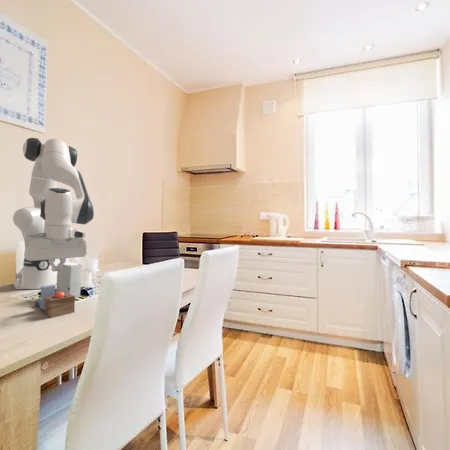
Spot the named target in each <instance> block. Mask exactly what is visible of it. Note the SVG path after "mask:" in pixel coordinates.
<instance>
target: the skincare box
mask: <svg viewBox="0 0 450 450" xmlns="http://www.w3.org/2000/svg"><path fill="white" fill-rule="evenodd" d="M59 263H60V262H59ZM59 263H57V265H59ZM82 267H83V266H82V264H81V263H77V262H70V261H67V262H65V263H64V265H63V266H62V271H56V280H57V284H56V288H55V293H56V292H64V294H66V293H68V294H70V295H73V296H75V299H78V298H81V287H82V286H81V283H82Z"/></svg>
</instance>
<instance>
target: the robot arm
mask: <svg viewBox="0 0 450 450" xmlns="http://www.w3.org/2000/svg"><path fill="white" fill-rule="evenodd" d="M22 153H23V156H24V158H25V159H26V160H28V161H30V162H34V165H33V167H32V172H31V177H30V183H29V191H28V193H29V195H30V197H31V199H32V201H33V206H26V207H22V208H19V209H17V210H16V211H15V212H14V214H13V215H12V216H13V217H12V221H13V224H14V226H15V227H17V228H18V229H19V231H20V232H21V235H22V237H23V242H24V253H23V254H24V255H23V257H24V258H23V264H22V267H21V269H20V270H19V272H18V273H16V274H15V279H16V280H15V281H13V282H12V285H13V287H14V288H15V290H41V286H45V285H52V284H53V285H55V286H56V285H57V272H58V271H62V266H63V265H64V263H66V261H67V259H73V258H81V257H86V256H87V254H88V243H87V240H86V239H85V237H86V232H84V231H81V230H78V229H74V228H73V224H77V225H87V224H88V223H90V222H91V221H92V220H93V219H94V215H95V209H94V206H93V203H92V201H91V199H90V196H89V193H88V191H87V187H86V184H85V182H84V178H83V175H82V173H81V172H80V171H79V170H77V169H76V168H75V166H76V165H77V163H78V159H79V156H78V151H77V149H76V148H74V147H73V146H70V145H67V144H66V143H65V141H63V140H61V139H59V138H50V139H47V140H46V139H41V138H40V139H39V138H37V137H29V138H27V139H25V141H24V143H23V146H22ZM58 183H61V184H64V185H66V186H68V187H70V188H72V189H73V191H74V194H75V198H73V196H72V191H71V190H69V189H67V188H62V187H57V186H58ZM56 260H59V265H58V264H57V265H55V262H56Z"/></svg>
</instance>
